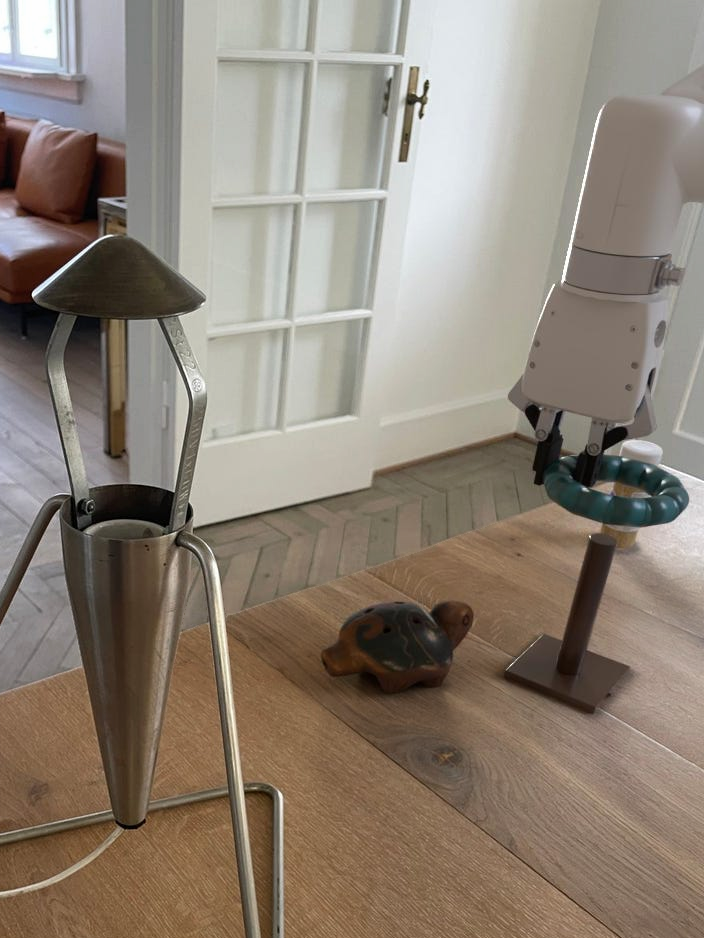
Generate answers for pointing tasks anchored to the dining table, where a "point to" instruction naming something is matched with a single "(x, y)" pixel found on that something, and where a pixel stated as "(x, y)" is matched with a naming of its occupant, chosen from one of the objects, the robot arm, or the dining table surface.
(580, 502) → the ring
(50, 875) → the dining table surface
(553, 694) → the post
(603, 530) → the sprinkles bottle
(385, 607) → the decorative turtle
